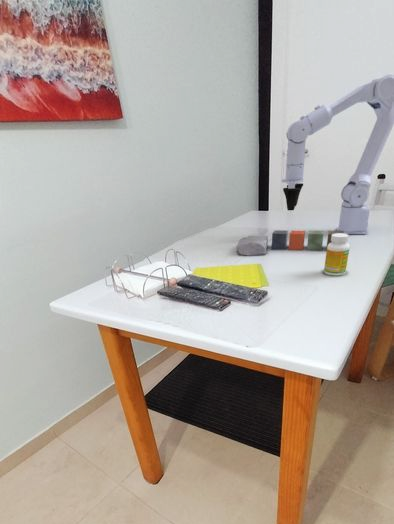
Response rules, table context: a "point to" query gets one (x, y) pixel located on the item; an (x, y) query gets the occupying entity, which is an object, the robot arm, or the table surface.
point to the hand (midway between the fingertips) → (292, 208)
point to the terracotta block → (296, 240)
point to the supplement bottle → (337, 254)
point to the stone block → (252, 245)
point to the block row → (313, 239)
